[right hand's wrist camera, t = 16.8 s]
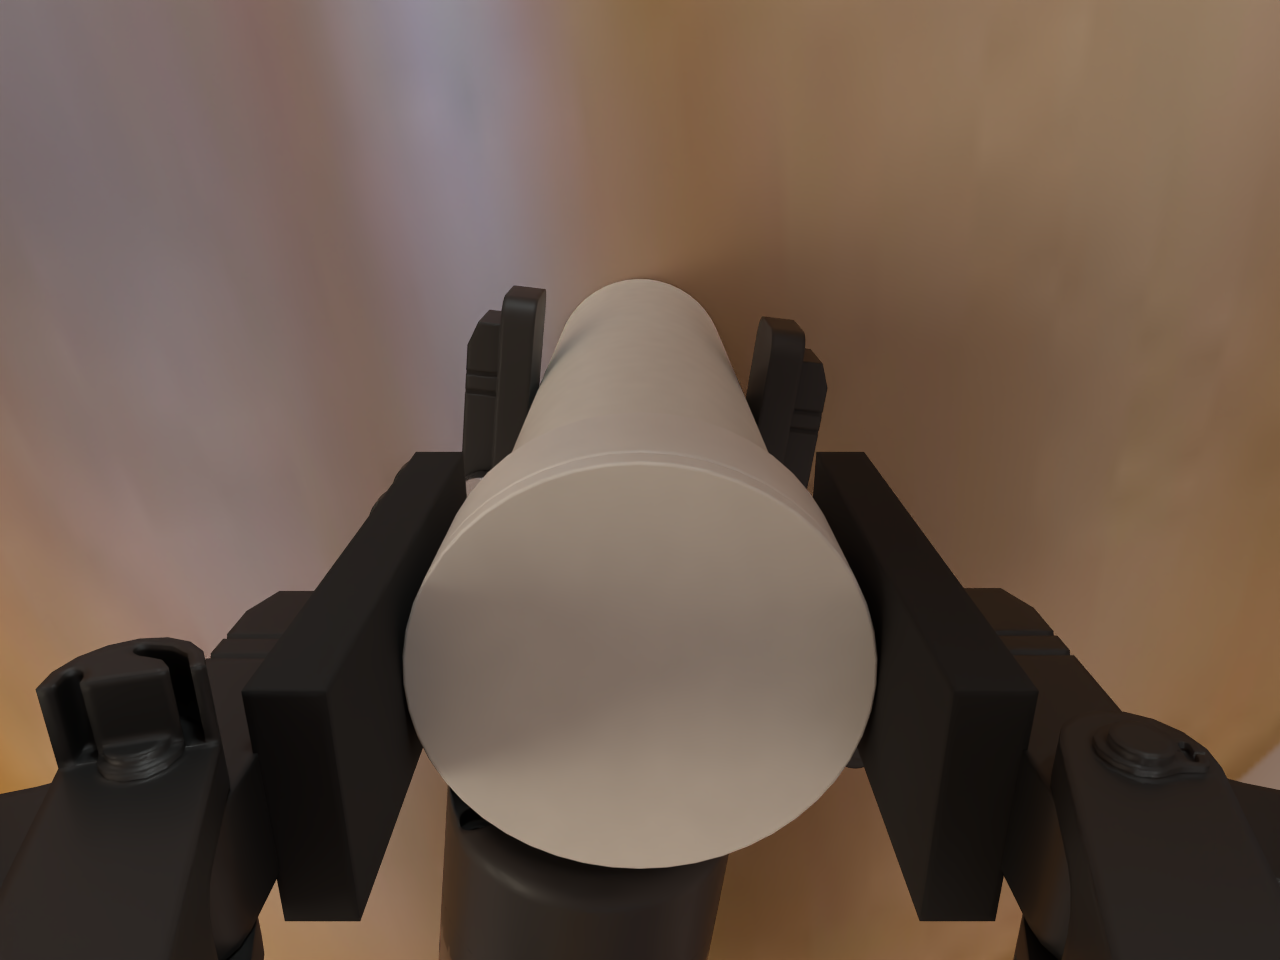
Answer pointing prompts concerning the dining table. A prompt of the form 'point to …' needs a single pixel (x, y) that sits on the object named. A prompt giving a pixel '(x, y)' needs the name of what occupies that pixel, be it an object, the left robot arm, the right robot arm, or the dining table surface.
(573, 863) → the left robot arm
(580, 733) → the white cylinder with groove
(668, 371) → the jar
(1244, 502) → the dining table surface
